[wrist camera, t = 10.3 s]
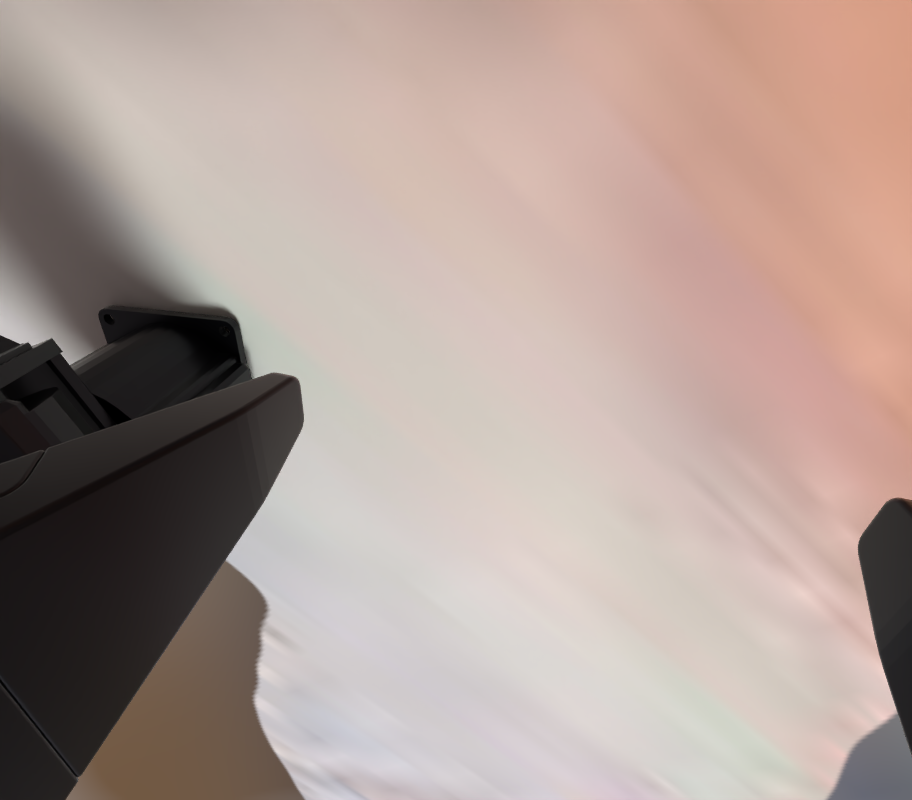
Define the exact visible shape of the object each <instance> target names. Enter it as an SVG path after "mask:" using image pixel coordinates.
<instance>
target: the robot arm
mask: <svg viewBox="0 0 912 800" xmlns="http://www.w3.org/2000/svg"><path fill="white" fill-rule="evenodd" d="M98 315H99V320H100V323H101V326H102V329H103V331H104V334H105V337H106V340H107V343H108V344H107V345H105V346H103V347H101V348H100V349H98V350H96V351H94V352H93V353H91V354H89V355H87V356H86V357H84V358H82V359H80V360H79V361H77V362H75V363H73V364H72V365H69V364H68V363H67V361H66V360H65V359H64V357H63V356H62V355H61V354H60V353H61V352H63V351H62V350H61V349H60V348H59V346H58V345H57V344H56V343H55V341H54V340H53V339H52V338H51V339H49V340H46V341H44V342H42V343H39V344H37V345H34V346H31V345H30V344H29V343H28V342H27V343H25V344H23V343H22V344H19V343H16V342H14V341H12V340H10V339H7V338H5V337H3V336H0V800H66V798H67V797H68V795H69V794H70V792H71V791H72V789H73V788H74V786H75V785H76V783H77V782H78V777H79V776H81V775H82V773H83V772H84V771H85V769H86V768H87V766H88V765H89V763H90V762H91V760H92V759H93V757H94V756H95V754H96V753H97V751H98V750H99V748H100V747H101V745H102V744H103V742H104V741H105V739H106V738H107V736H108V734H109V733H110V732H111V730H112V729H113V727H114V726H115V724H116V723H117V721H118V720H119V718H120V717H121V715H122V714H123V712H124V711H125V709H126V708H127V706H128V705H129V703H130V702H131V700H132V699H133V697H134V696H135V694H136V693H137V691H138V690H139V688H140V687H141V685H142V684H143V682H144V681H145V679H146V678H147V676H148V675H149V673H150V672H151V670H152V669H153V667H154V666H155V664H156V663H157V661H158V660H159V659H160V657H161V656H162V654H163V653H164V651H165V650H166V648H167V647H168V645H169V644H170V642H171V640H172V639H173V638H174V636H175V635H176V633H177V632H178V630H179V629H180V627H181V626H182V624H183V623H184V621H185V620H186V618H187V617H188V615H189V614H190V612H191V611H192V609H193V608H194V606H195V605H196V603H197V602H198V600H199V598H200V597H201V596H202V594H203V593H204V591H205V590H206V588H207V587H208V585H209V584H210V582H211V581H212V579H213V578H214V576H215V575H216V573H217V572H218V570H219V569H220V567H221V566H222V564H223V563H224V561H225V560H226V558H227V557H228V555H229V554H230V552H231V551H232V549H233V548H234V546H235V545H236V543H237V542H238V540H239V539H240V537H241V536H242V534H243V533H244V531H245V530H246V528H247V527H248V525H249V524H250V522H251V521H252V519H253V518H254V516H255V515H256V513H257V512H258V510H259V509H260V507H261V506H262V504H263V502H264V501H265V499H266V497H267V495H268V494H269V492H270V490H271V488H272V486H273V484H274V482H275V480H276V478H277V476H278V474H279V473H280V471H281V469H282V467H283V465H284V463H285V461H286V459H287V457H288V455H289V453H290V451H291V449H292V447H293V445H294V443H295V442H296V440H297V438H298V436H299V434H300V432H301V430H302V427H303V422H304V413H303V404H302V396H301V387H300V383H299V380H298V379H297V378H296V377H294V376H290V375H285V374H281V373H270V374H267V375H264V376H261V377H258V378H255V379H252V380H251V374H250V369H249V368H248V366H247V363H246V358H245V353H244V348H243V342H242V337H241V332H240V328H239V325H238V324H237V323H236V321H234V320H233V319H232V318H228V317H221V316H211V315H201V314H191V313H181V312H171V311H161V310H151V309H141V308H131V307H121V306H108V307H106V308H104V309H102V310H100V311H99V314H98ZM110 315H111V316H112V317H113V318H114V320H115V321H114V320H113V319H112V318H111V316H110ZM224 326H225V327H227V328H228V329H229V331H230V333H228V332H227V331H226V330H225V329H224ZM858 555H859V560H860V565H861V570H862V575H863V580H864V585H865V590H866V595H867V600H868V605H869V610H870V615H871V620H872V625H873V630H874V635H875V639H876V643H877V647H878V651H879V655H880V659H881V662H882V666H883V669H884V672H885V675H886V678H887V682H888V685H889V688H890V691H891V694H892V697H893V700H894V703H895V706H896V709H897V712H898V715H899V719H900V722H901V725H902V728H903V731H904V734H905V737H906V740H907V743H908V746H909V749H910V752H911V756H912V500H908V499H903V498H893V499H891V500H889V501H887V502H886V503H885V504H884V506H883V507H882V508H881V510H880V511H879V512H878V514H877V515H876V516H875V518H874V519H873V520H872V522H871V523H870V524H869V526H868V527H867V528H866V530H865V531H864V533H863V534H862V536H861V537H860V540H859V544H858Z"/></svg>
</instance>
